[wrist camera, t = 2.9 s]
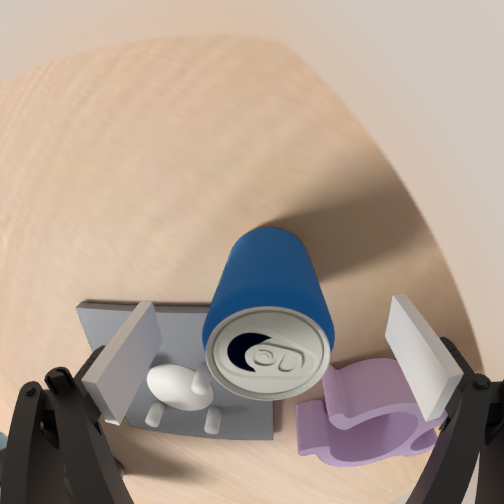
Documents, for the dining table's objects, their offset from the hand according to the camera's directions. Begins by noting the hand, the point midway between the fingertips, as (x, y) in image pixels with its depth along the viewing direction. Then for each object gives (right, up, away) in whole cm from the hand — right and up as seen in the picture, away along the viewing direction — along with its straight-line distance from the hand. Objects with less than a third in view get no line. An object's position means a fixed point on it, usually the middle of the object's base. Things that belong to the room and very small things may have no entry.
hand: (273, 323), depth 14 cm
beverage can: (0, +3, +9) cm, 9 cm away
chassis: (-9, -11, +14) cm, 20 cm away
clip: (+14, -14, +14) cm, 25 cm away
